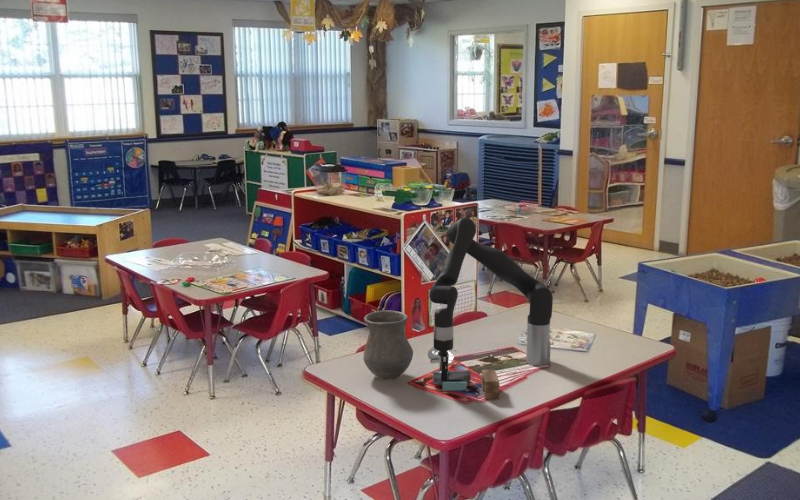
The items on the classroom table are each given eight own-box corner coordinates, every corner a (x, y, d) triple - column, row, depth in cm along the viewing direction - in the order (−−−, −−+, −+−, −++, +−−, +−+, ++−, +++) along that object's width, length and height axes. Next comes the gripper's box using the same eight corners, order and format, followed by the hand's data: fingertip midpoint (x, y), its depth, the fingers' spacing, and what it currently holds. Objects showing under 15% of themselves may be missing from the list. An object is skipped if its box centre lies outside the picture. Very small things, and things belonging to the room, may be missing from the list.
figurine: (440, 344, 331) (459, 347, 322) (441, 359, 332) (460, 362, 322) (424, 347, 326) (442, 350, 316) (425, 362, 326) (443, 365, 316)
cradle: (463, 380, 303) (464, 373, 302) (466, 390, 293) (466, 382, 293) (441, 380, 303) (441, 373, 302) (442, 390, 293) (442, 383, 293)
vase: (402, 388, 295) (402, 326, 290) (356, 382, 302) (355, 321, 296) (419, 370, 313) (419, 311, 308) (375, 365, 320) (374, 307, 315)
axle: (469, 379, 300) (469, 368, 299) (470, 385, 296) (470, 374, 294) (433, 380, 300) (433, 369, 298) (433, 386, 295) (433, 374, 294)
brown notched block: (494, 386, 296) (494, 369, 295) (498, 399, 285) (499, 381, 283) (481, 386, 296) (481, 369, 295) (485, 399, 285) (485, 381, 283)
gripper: (432, 330, 301) (432, 370, 304) (434, 342, 287) (434, 383, 290) (451, 330, 301) (451, 369, 304) (454, 342, 287) (454, 383, 290)
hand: (443, 376), depth 297 cm, fingers open, 8 cm apart
